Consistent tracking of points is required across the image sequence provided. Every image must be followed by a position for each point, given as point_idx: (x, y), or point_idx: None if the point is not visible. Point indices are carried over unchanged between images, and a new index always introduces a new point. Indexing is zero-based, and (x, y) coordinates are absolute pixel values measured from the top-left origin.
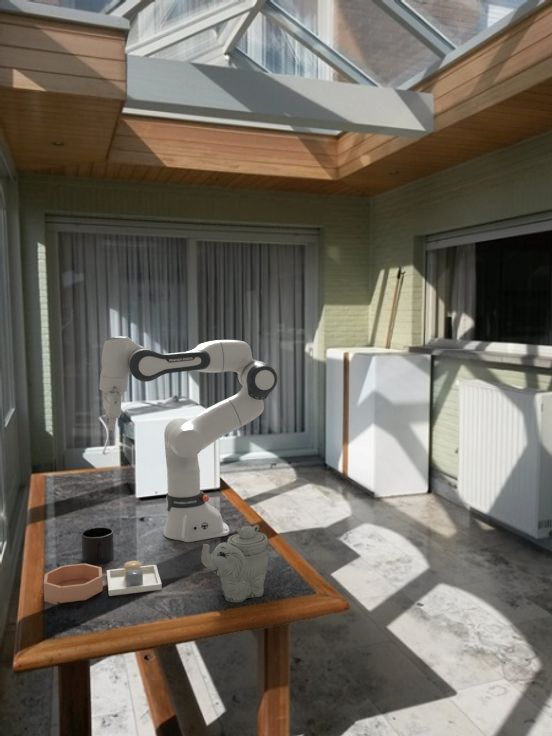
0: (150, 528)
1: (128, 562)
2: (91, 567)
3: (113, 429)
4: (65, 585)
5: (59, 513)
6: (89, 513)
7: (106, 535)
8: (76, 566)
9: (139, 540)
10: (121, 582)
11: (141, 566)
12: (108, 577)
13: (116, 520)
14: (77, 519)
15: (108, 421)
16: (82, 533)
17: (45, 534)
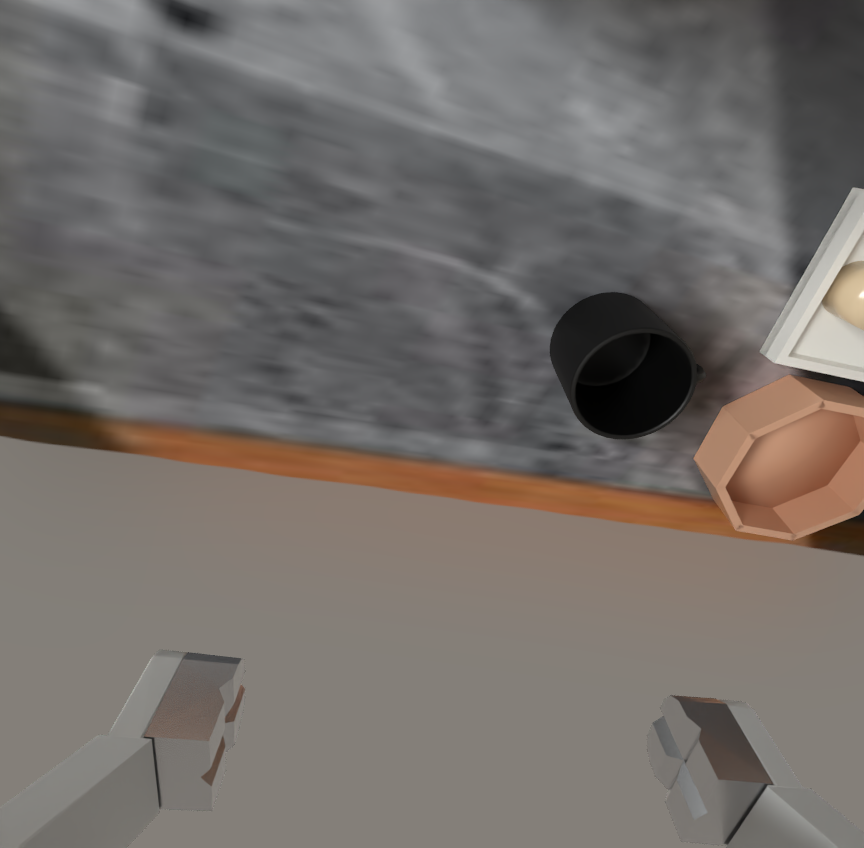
0: (351, 22)
1: (860, 312)
2: (787, 421)
3: (741, 713)
4: (740, 464)
5: (21, 361)
6: (38, 251)
7: (692, 366)
8: (742, 455)
9: (488, 137)
10: (854, 331)
11: (844, 250)
12: (832, 372)
13: (172, 158)
14: (117, 314)
15: (226, 743)
16: (606, 434)
17: (264, 438)
